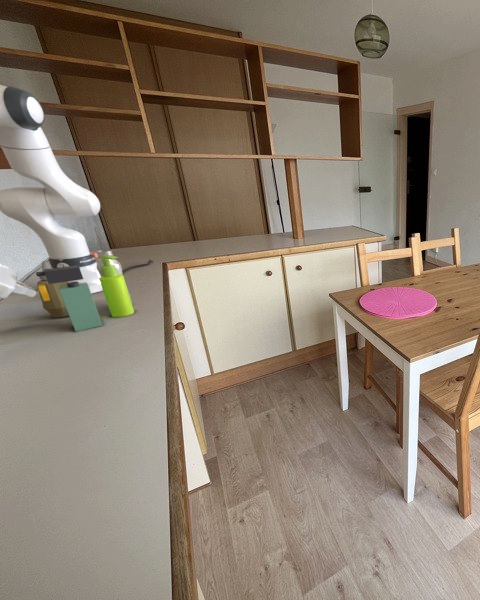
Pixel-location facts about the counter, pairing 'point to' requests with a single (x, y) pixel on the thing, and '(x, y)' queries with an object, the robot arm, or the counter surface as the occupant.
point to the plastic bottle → (113, 262)
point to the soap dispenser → (115, 289)
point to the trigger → (44, 292)
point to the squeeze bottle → (53, 295)
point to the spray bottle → (74, 296)
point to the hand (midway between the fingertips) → (35, 293)
